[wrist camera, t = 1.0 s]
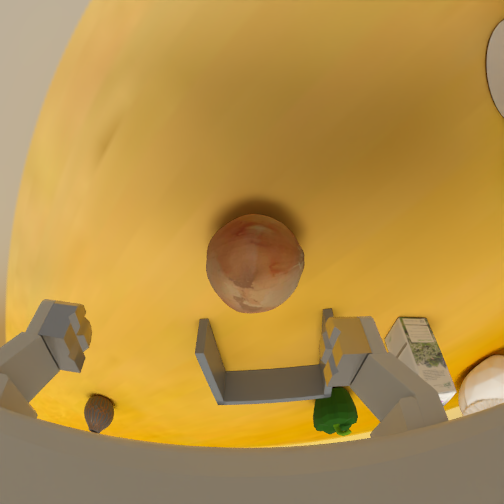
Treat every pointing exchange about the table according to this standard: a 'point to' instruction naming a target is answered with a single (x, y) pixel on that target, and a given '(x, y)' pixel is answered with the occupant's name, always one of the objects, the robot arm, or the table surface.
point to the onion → (254, 263)
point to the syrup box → (421, 354)
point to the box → (258, 376)
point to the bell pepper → (335, 412)
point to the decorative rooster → (483, 386)
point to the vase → (98, 413)
